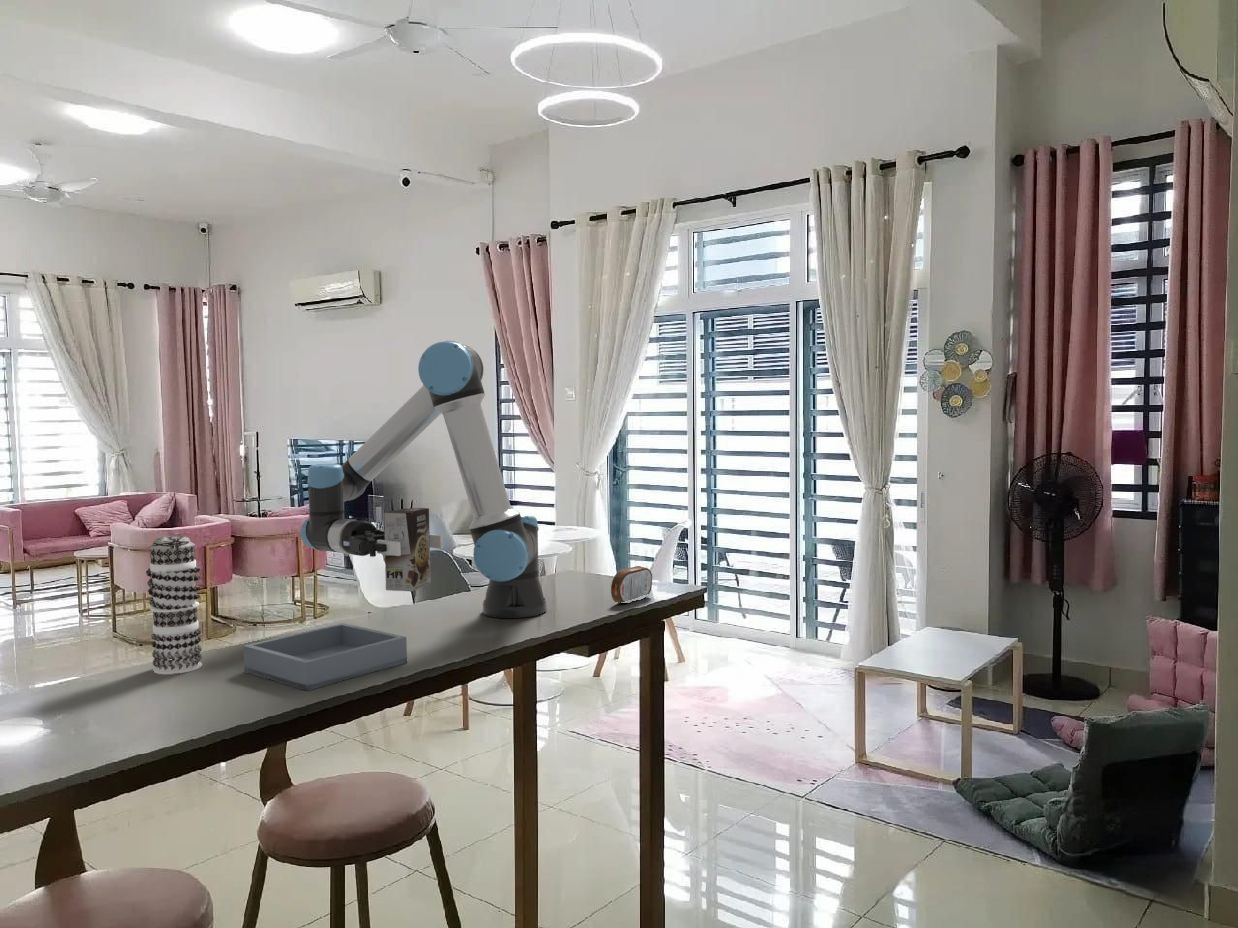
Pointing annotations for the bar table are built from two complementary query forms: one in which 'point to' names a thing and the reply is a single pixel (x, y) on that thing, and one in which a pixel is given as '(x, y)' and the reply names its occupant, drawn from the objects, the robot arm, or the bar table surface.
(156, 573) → the decorative candle
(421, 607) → the bar table surface
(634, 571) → the tin
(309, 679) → the tray
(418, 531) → the cookie box
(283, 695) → the bar table surface
